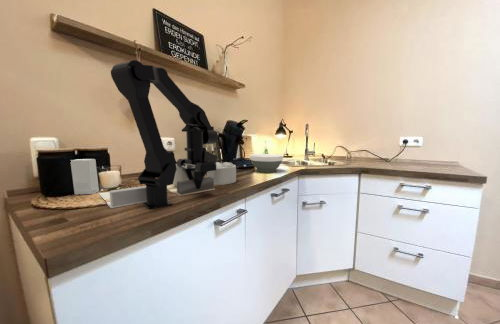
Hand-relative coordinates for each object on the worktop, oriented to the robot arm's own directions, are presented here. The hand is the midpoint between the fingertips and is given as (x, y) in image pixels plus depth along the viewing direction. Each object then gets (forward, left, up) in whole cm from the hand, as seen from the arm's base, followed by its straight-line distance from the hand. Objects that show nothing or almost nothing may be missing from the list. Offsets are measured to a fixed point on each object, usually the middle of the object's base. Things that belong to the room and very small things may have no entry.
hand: (196, 188), depth 81 cm
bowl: (+18, -55, -2) cm, 58 cm away
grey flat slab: (+9, +20, -1) cm, 22 cm away
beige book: (+8, 0, -1) cm, 9 cm away
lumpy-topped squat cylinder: (+9, -18, -2) cm, 20 cm away
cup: (+13, 0, -1) cm, 13 cm away
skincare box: (+24, +30, -2) cm, 38 cm away
